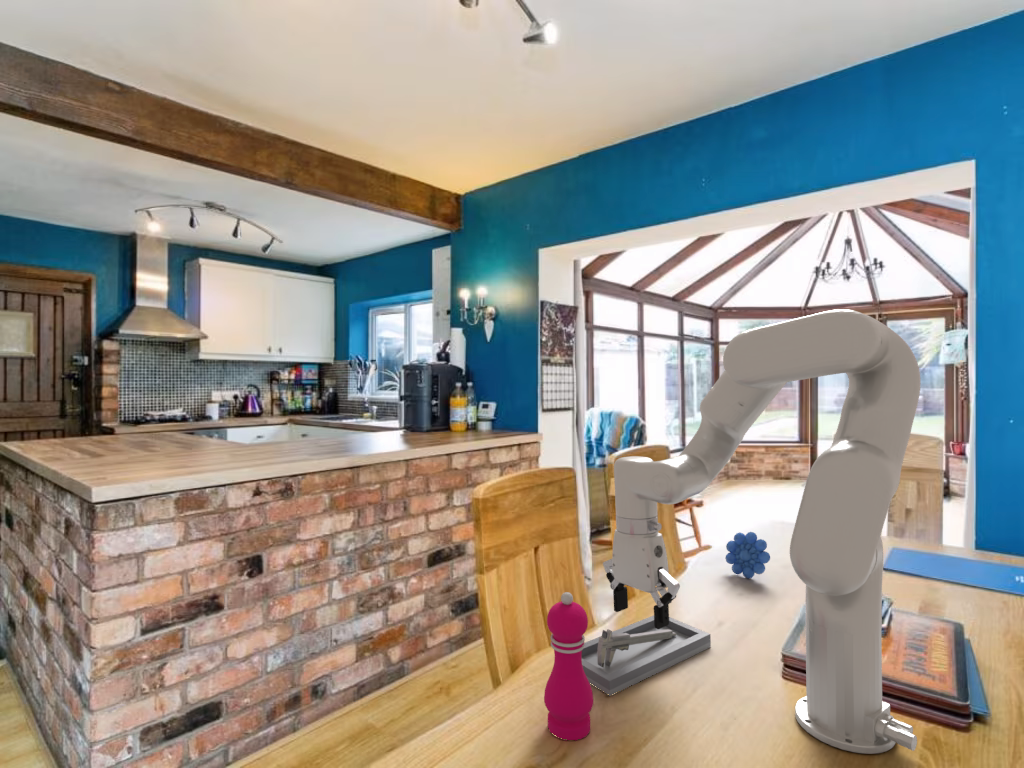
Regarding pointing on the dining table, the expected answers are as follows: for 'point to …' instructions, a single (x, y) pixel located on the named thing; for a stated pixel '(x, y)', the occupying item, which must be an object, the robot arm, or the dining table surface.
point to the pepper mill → (568, 672)
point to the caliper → (625, 642)
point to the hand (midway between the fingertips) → (640, 617)
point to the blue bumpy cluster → (747, 554)
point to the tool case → (642, 655)
